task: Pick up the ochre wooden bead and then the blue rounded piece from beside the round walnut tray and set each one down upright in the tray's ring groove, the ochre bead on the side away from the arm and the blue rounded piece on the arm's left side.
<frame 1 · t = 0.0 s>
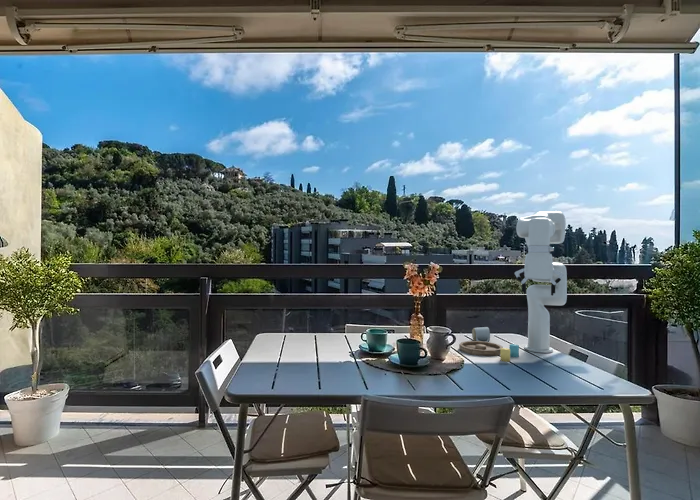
hand: (538, 294, 159), 31 cm above the table, tool pointing down, fingers open, 9 cm apart
ochre bead: (505, 360, 180), on the table
blue rounded piece: (514, 356, 188), on the table
ceramic mug: (482, 342, 216), on the table
groove tray: (480, 350, 197), on the table
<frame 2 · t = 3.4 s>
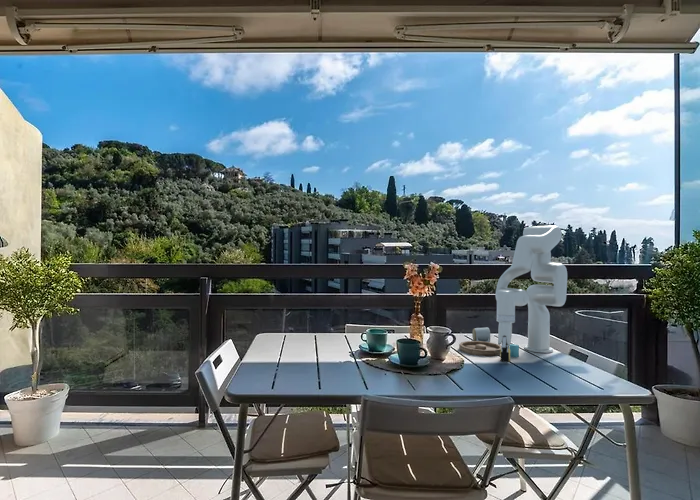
hand: (505, 359, 180), 0 cm above the table, tool pointing down, fingers closed on ochre bead, 3 cm apart
ochre bead: (505, 360, 180), on the table, touching gripper
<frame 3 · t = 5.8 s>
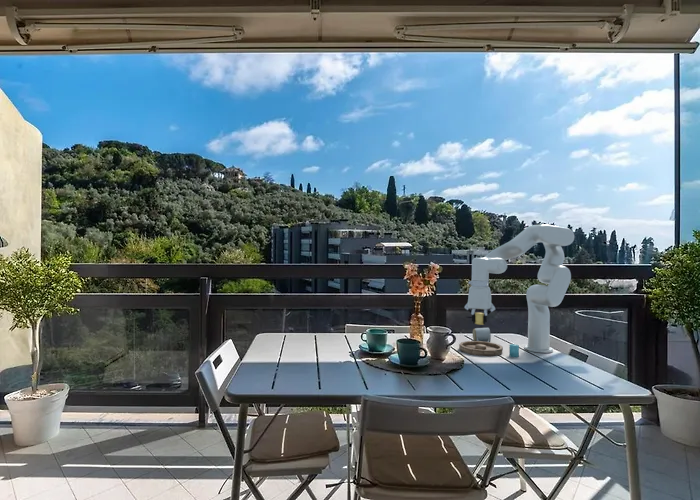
hand: (479, 323, 192), 14 cm above the table, tool pointing down, fingers closed on ochre bead, 3 cm apart
ochre bead: (479, 323, 192), point 14 cm above the table, touching gripper
when the fingers open (3 cm above the table, at t = 8.1 s): ochre bead drops 1 cm, resting on groove tray.
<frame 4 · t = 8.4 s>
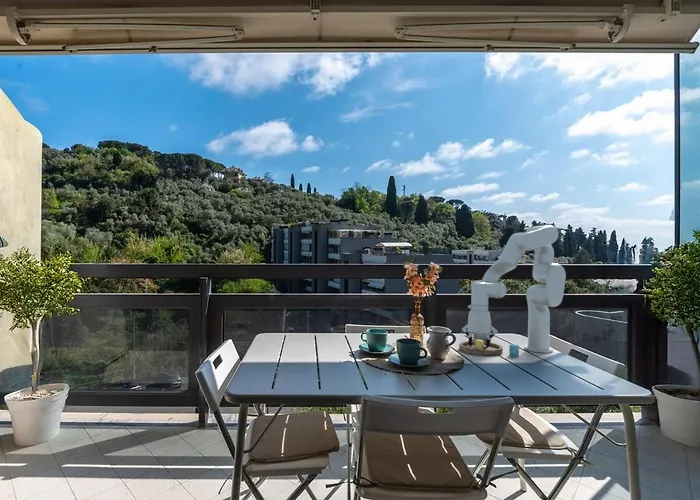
hand: (479, 346, 192), 3 cm above the table, tool pointing down, fingers open, 6 cm apart
ochre bead: (478, 351, 192), point 1 cm above the table, touching groove tray
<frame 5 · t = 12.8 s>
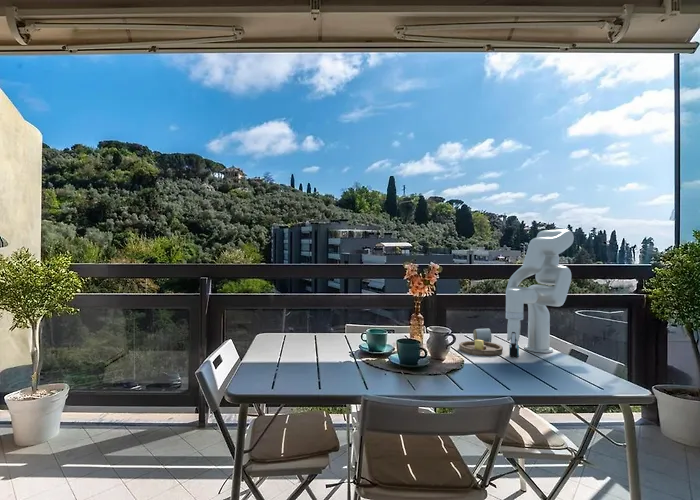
hand: (514, 355, 188), 0 cm above the table, tool pointing down, fingers closed on blue rounded piece, 3 cm apart
blue rounded piece: (514, 356, 188), on the table, touching gripper
ceramic mug: (483, 344, 213), on the table
everything else where it was.
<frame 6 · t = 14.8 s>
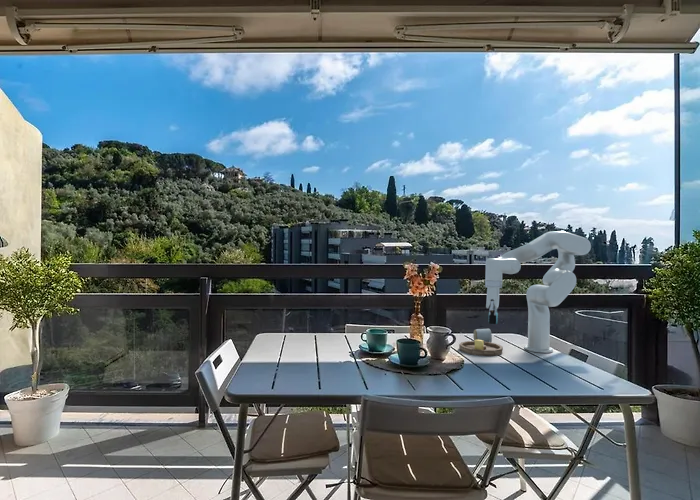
hand: (493, 322, 195), 14 cm above the table, tool pointing down, fingers closed on blue rounded piece, 3 cm apart
blue rounded piece: (492, 323, 195), point 14 cm above the table, touching gripper
when the fingers open (3 cm above the table, at t = 17.0 s): blue rounded piece drops 1 cm, resting on groove tray.
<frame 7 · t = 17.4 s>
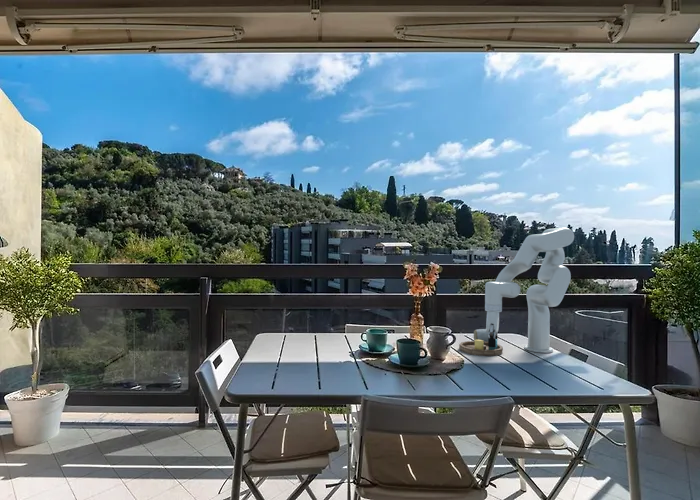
hand: (492, 344, 195), 3 cm above the table, tool pointing down, fingers open, 7 cm apart
blue rounded piece: (492, 349, 195), point 1 cm above the table, touching groove tray
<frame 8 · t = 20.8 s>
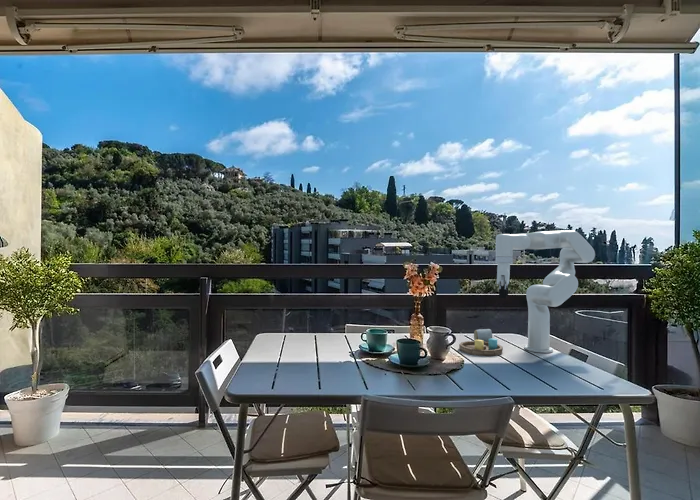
hand: (503, 297, 193), 26 cm above the table, tool pointing down, fingers open, 9 cm apart
at the end: ochre bead 0.1 cm from the target spot on the groove tray, point 1.0 cm above the groove tray's base; blue rounded piece 0.2 cm from the target spot on the groove tray, point 1.0 cm above the groove tray's base; blue rounded piece tilted 0° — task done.
